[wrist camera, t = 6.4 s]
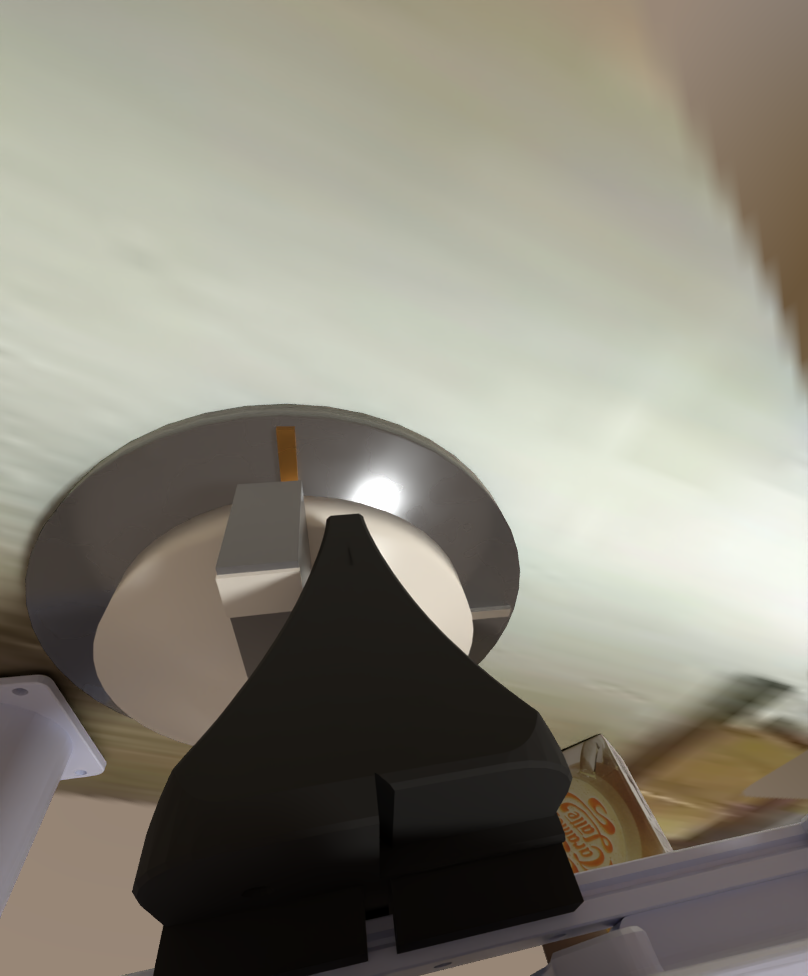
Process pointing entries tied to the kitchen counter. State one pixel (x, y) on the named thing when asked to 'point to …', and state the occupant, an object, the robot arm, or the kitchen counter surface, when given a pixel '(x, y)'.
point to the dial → (241, 601)
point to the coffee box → (603, 818)
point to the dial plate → (212, 484)
